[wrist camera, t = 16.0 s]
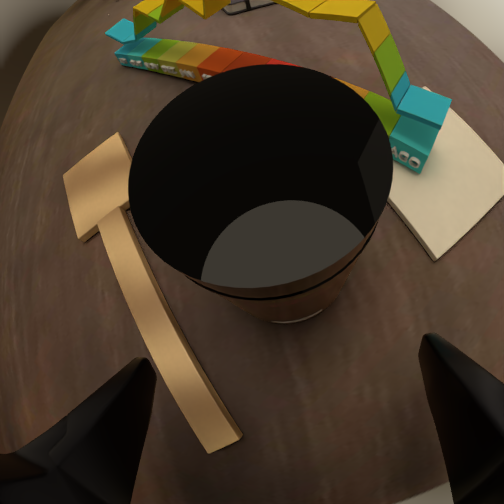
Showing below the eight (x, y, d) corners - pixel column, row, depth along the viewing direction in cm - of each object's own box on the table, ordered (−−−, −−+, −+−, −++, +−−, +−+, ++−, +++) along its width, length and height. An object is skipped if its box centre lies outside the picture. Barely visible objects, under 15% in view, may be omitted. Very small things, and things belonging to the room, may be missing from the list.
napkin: (512, 184, 16) (516, 180, 15) (433, 262, 15) (437, 259, 15) (423, 91, 19) (425, 85, 18) (331, 140, 19) (331, 134, 18)
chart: (120, 66, 26) (55, -34, 12) (140, 48, 27) (84, -51, 13) (418, 177, 16) (495, -62, 2) (433, 144, 17) (493, -65, 3)
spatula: (275, 418, 14) (273, 422, 13) (185, 460, 14) (178, 466, 13) (122, 137, 22) (116, 129, 21) (67, 179, 22) (61, 174, 21)
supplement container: (320, 192, 18) (320, 44, 8) (365, 300, 15) (445, 224, 6) (212, 231, 18) (121, 114, 8) (245, 342, 16) (149, 330, 6)
